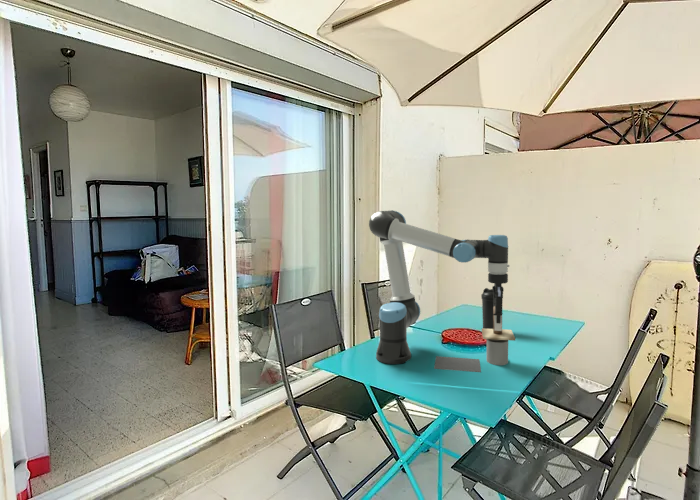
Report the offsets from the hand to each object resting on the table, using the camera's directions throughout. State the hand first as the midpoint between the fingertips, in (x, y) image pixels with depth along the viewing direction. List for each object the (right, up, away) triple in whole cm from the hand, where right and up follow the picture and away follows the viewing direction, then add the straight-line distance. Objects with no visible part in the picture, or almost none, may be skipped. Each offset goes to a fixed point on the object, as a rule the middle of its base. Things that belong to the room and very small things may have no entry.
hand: (497, 328), depth 164 cm
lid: (0, -3, 0) cm, 3 cm away
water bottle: (+12, -10, +41) cm, 44 cm away
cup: (0, -15, +1) cm, 15 cm away
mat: (-17, -15, 0) cm, 22 cm away
